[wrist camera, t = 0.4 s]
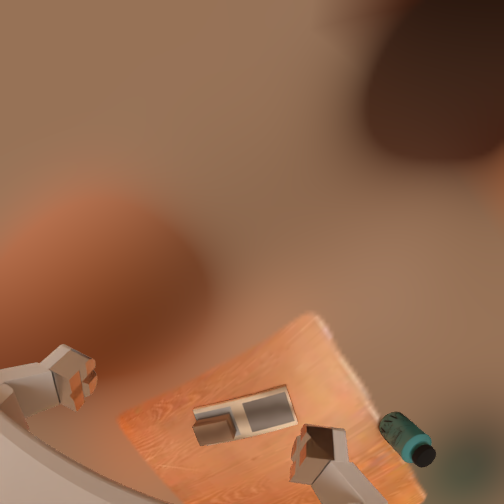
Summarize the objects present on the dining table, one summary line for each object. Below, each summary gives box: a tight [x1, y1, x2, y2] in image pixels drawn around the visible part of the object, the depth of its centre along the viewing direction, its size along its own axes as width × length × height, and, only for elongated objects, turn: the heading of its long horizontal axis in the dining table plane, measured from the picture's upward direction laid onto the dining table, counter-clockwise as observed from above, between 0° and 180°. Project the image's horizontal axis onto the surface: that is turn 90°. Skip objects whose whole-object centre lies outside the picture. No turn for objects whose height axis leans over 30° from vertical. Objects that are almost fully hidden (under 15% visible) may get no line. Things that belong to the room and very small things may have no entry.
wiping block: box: [192, 412, 237, 446], centre depth 53 cm, size 4×7×5 cm, turn 107°
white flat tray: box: [193, 385, 298, 446], centre depth 56 cm, size 9×20×2 cm, turn 108°
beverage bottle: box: [379, 412, 436, 467], centre depth 44 cm, size 6×7×20 cm
